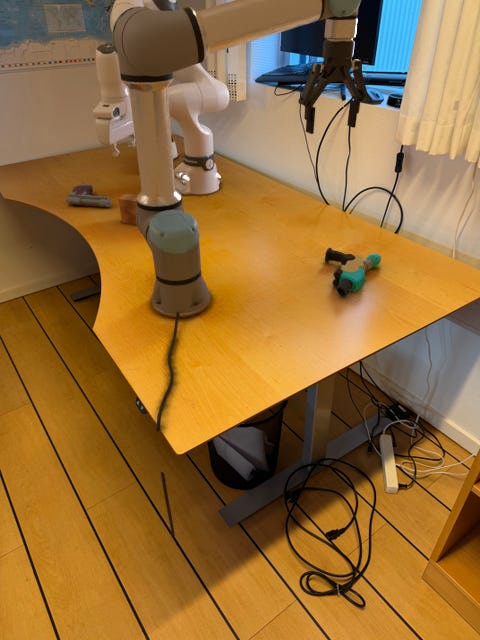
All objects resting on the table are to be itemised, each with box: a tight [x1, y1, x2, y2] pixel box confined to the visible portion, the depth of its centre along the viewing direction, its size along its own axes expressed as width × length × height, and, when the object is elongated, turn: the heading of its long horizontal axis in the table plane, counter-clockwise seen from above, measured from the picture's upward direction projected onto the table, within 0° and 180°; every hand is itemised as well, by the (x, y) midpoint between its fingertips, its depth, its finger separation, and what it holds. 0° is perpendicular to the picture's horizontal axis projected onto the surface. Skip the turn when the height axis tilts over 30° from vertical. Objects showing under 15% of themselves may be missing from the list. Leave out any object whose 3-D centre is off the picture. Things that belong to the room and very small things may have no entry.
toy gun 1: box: [65, 184, 112, 208], centre depth 182 cm, size 4×19×15 cm
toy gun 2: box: [324, 247, 382, 299], centre depth 133 cm, size 4×26×15 cm
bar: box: [117, 193, 185, 226], centre depth 163 cm, size 22×5×9 cm, turn 70°
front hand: (330, 129), depth 129 cm, fingers open, 13 cm apart
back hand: (124, 151), depth 153 cm, fingers open, 8 cm apart
